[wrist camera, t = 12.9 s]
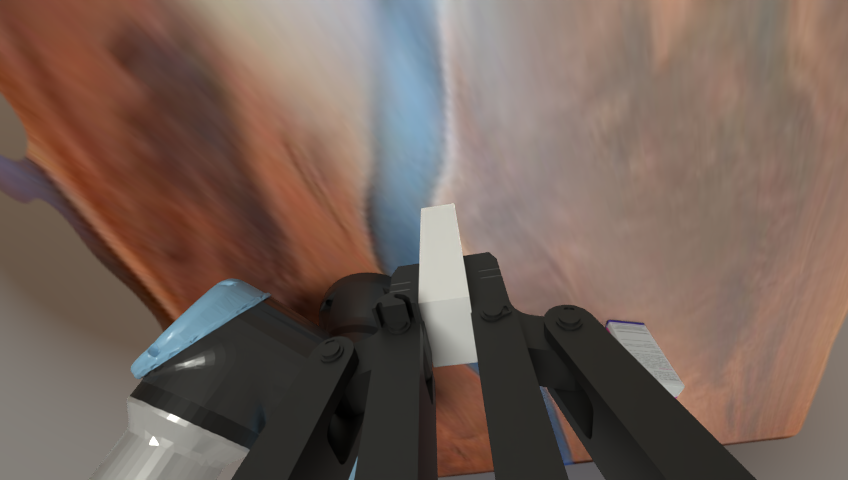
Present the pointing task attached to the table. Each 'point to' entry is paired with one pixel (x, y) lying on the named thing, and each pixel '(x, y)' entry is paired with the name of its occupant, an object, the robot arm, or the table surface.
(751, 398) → the table surface
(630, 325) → the supplement box
